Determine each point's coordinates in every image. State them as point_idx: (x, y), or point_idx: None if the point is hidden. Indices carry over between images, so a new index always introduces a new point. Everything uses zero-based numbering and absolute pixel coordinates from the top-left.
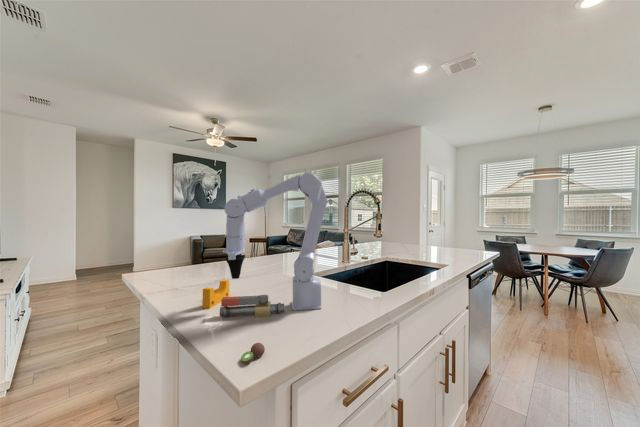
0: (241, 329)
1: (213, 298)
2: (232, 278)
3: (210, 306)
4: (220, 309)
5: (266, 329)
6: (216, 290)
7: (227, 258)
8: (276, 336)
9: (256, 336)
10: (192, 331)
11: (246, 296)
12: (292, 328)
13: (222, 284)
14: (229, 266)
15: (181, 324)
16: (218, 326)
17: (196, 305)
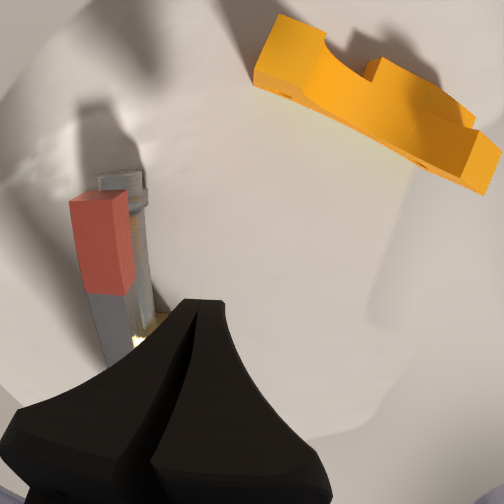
0: (32, 269)
1: (293, 95)
2: (181, 302)
3: (258, 86)
4: (99, 180)
5: (44, 333)
6: (435, 104)
7: (4, 450)
8: (21, 348)
9: (10, 308)
10: (18, 107)
11: (124, 326)
12: (62, 384)
13: (454, 145)
14: (101, 373)
15: (77, 31)
16: (44, 188)
17: (321, 10)
